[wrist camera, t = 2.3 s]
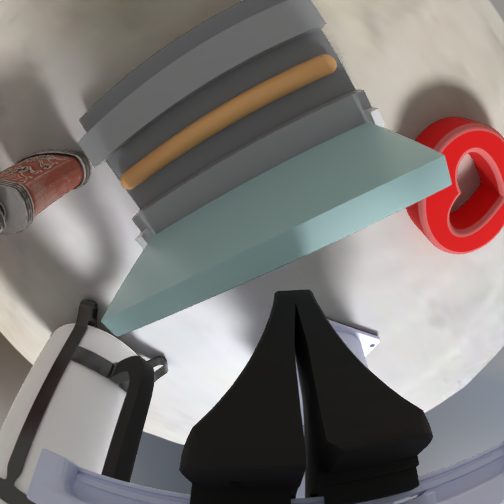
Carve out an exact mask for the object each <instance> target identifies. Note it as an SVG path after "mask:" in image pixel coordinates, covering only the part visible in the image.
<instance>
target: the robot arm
mask: <svg viewBox="0 0 504 504" xmlns="http://www.w3.org/2000/svg"><path fill="white" fill-rule="evenodd" d="M379 342H380V338H379V337H378V336H375V335H372V334H369V333H366V332H363V331H360V330H357V329H354V328H352V327H349V326H346V325H343V324H340V323H337V322H334V321H331V320H329V319H327V318H326V316H325V315H324V313H323V312H322V310H321V308H320V307H319V305H318V303H317V301H316V299H315V297H314V295H313V293H312V292H311V291H310V290H293V291H277V292H276V293H275V295H274V303H273V307H272V311H271V314H270V317H269V320H268V322H267V325H266V328H265V330H264V332H263V335H262V337H261V339H260V341H259V343H258V345H257V347H256V349H255V351H254V353H253V355H252V356H251V358H250V360H249V361H248V363H247V365H246V366H245V368H244V369H243V371H242V372H241V374H240V375H239V377H238V378H237V379H236V381H235V382H234V384H233V385H232V386H231V387H230V389H229V390H228V391H227V392H226V394H225V395H224V396H223V397H222V398H221V399H220V401H219V402H218V403H217V404H216V405H215V406H214V407H213V408H212V409H211V410H210V411H209V412H208V413H207V414H206V415H205V416H204V417H203V418H202V419H201V420H200V421H199V422H198V423H197V424H196V425H195V426H194V427H193V428H192V430H191V432H190V434H189V436H188V438H187V440H186V443H185V445H184V449H183V452H182V456H181V463H180V468H179V470H180V472H181V473H182V474H183V475H184V476H185V477H186V478H187V479H188V480H189V481H190V482H192V490H191V495H189V494H182V493H176V492H170V491H165V490H159V489H154V488H150V487H145V486H141V485H136V484H132V483H129V482H125V481H121V480H118V479H114V478H111V477H108V476H104V475H101V474H98V473H95V472H92V471H89V470H86V469H84V468H81V467H78V465H76V464H75V463H74V462H72V461H70V460H69V459H67V458H65V457H63V456H60V455H58V454H56V453H53V452H51V451H49V450H46V449H42V451H41V454H40V457H39V459H38V462H37V465H36V468H35V471H34V474H33V477H32V480H31V483H30V486H29V490H28V493H27V498H28V499H29V500H31V501H32V502H34V503H36V504H500V503H502V502H503V501H504V441H503V442H501V443H499V444H497V445H495V446H493V447H491V448H489V449H487V450H485V451H483V452H481V453H479V454H476V455H474V456H472V457H470V458H467V459H465V460H463V461H460V462H458V463H455V464H453V465H450V466H448V467H445V468H442V469H440V470H437V471H434V472H431V473H428V474H425V475H422V476H419V477H418V474H417V470H416V466H418V465H419V461H418V456H417V455H418V454H419V453H420V452H421V451H422V450H423V449H424V448H426V447H427V446H428V444H429V443H430V442H431V440H432V438H433V435H432V432H431V428H430V425H429V423H428V420H427V418H426V416H425V414H424V412H423V410H421V409H420V408H418V407H417V406H415V405H413V404H412V403H410V402H409V401H407V400H406V399H404V398H403V397H401V396H400V395H399V394H397V393H396V392H395V391H393V390H392V389H391V388H389V387H388V386H387V385H386V384H385V383H383V382H382V381H381V380H380V379H379V378H378V377H377V376H375V375H374V374H373V373H372V372H371V371H370V370H369V369H368V366H367V362H366V358H365V356H366V355H367V354H369V353H370V352H371V351H372V350H373V349H374V348H375V347H376V346H377V345H378V344H379ZM416 495H418V496H417V497H416V498H413V499H411V497H412V496H416Z"/></svg>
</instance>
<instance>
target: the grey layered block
mask: <svg viewBox="0 0 504 504" xmlns="http://www.w3.org/2000/svg"><path fill="white" fill-rule="evenodd" d="M325 24H326V23H325V21H324V20H323V18H322V17H321V15H320V14H319V12H318V11H317V9H316V8H315V6H314V5H313V3H312V2H311V1H310V0H245V1H243V2H240V3H238V4H236V5H234V6H232V7H231V8H229V9H227V10H225V11H223V12H221V13H219V14H217V15H216V16H214V17H212V18H210V19H208V20H207V21H205V22H203V23H202V24H200V25H198V26H197V27H195V28H193V29H192V30H190V31H188V32H187V33H185V34H184V35H182V36H181V37H179V38H178V39H176V40H175V41H173V42H172V43H170V44H169V45H167V46H166V47H164V48H163V49H161V50H160V51H159V52H157V53H156V54H155V55H153V56H152V57H150V58H149V59H148V60H146V61H145V62H144V63H142V64H141V65H140V66H139V67H137V68H136V69H135V70H134V71H132V72H131V73H130V74H129V75H127V76H126V77H125V78H124V79H123V80H121V81H120V82H119V83H118V84H117V85H116V86H114V87H113V88H112V89H111V90H110V91H109V92H108V93H106V94H105V95H104V96H103V97H102V98H101V99H100V100H99V101H98V102H97V103H96V104H95V105H94V106H93V107H91V108H90V109H89V110H88V111H87V112H86V113H85V114H84V115H83V116H82V117H81V118H80V119H79V121H80V123H81V124H82V126H83V128H84V129H85V131H86V132H87V133H86V134H85V135H84V136H83V137H82V138H81V139H80V140H79V141H78V144H79V145H80V147H81V148H82V150H83V151H84V153H85V154H86V156H87V157H88V159H89V160H90V162H91V163H92V165H93V166H94V168H95V167H97V166H98V165H100V164H102V163H103V162H105V161H106V162H107V163H108V165H109V166H110V168H111V169H112V170H113V172H114V173H115V175H116V176H117V178H118V179H119V180H120V182H121V185H122V186H123V187H124V188H125V189H126V190H127V191H128V193H129V194H130V196H131V197H132V198H133V200H134V201H135V202H136V204H137V205H138V207H139V208H140V210H139V212H138V213H137V214H136V215H135V216H134V217H133V218H132V220H133V221H134V223H135V224H136V225H137V227H138V228H139V229H140V231H141V233H140V234H139V236H138V237H137V238H136V241H137V242H138V243H139V245H140V246H141V247H142V248H143V250H144V249H145V247H146V245H147V244H148V242H149V241H150V239H151V238H152V237H153V236H154V235H156V234H158V233H159V232H161V231H163V230H164V229H166V228H167V227H169V226H171V225H172V224H174V223H176V222H177V221H179V220H181V219H182V218H184V217H186V216H187V215H189V214H191V213H193V212H194V211H196V210H198V209H199V208H201V207H203V206H205V205H206V204H208V203H210V202H212V201H213V200H215V199H217V198H219V197H220V196H222V195H224V194H226V193H227V192H229V191H231V190H233V189H235V188H236V187H238V186H240V185H242V184H244V183H246V182H247V181H249V180H251V179H253V178H255V177H257V176H259V175H260V174H262V173H264V172H266V171H268V170H270V169H272V168H274V167H276V166H278V165H280V164H281V163H283V162H285V161H287V160H289V159H291V158H293V157H295V156H297V155H299V154H301V153H303V152H305V151H307V150H309V149H311V148H313V147H315V146H317V145H319V144H321V143H324V142H326V141H328V140H330V139H332V138H334V137H336V136H338V135H340V134H342V133H345V132H347V131H349V130H351V129H353V128H356V127H358V126H360V125H362V124H364V123H367V122H370V123H373V124H375V125H378V126H381V127H383V128H384V127H386V125H385V122H384V120H383V118H382V115H381V113H380V111H379V109H378V108H373V107H371V104H370V102H369V100H368V98H367V96H366V94H365V92H364V90H355V88H354V86H353V84H352V82H351V80H350V79H349V77H348V75H347V73H346V71H345V69H344V67H343V66H342V64H341V62H340V60H339V58H338V57H337V55H336V53H335V52H334V50H333V48H332V46H331V45H330V43H329V41H328V40H327V38H326V37H325V35H324V33H323V32H322V30H321V28H322V27H323V26H324V25H325Z"/></svg>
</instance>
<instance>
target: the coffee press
mask: <svg viewBox="0 0 504 504" xmlns="http://www.w3.org/2000/svg"><path fill="white" fill-rule="evenodd" d="M97 312H98V306H97V304H96V303H95V302H90V301H85V300H83V301H81V303H80V306H79V311H78V316H77V320H76V323H73V324H66V325H63V326H61V327H59V328H57V329H56V330H55V331H54V333H52V334H51V336H50V338H49V340H48V342H47V343H46V345H45V346H44V348H43V350H42V351H41V353H40V355H39V356H38V358H37V360H36V361H35V363H34V365H33V367H32V368H31V370H30V372H29V374H28V376H27V377H26V379H25V381H24V383H23V385H22V387H21V389H20V391H19V392H18V394H17V396H16V398H15V400H14V402H13V404H12V406H11V409H10V410H9V413H8V415H7V417H6V419H5V421H4V423H3V426H2V428H1V430H0V504H36V503H34V502H32V501H31V500H29V499H28V498H27V493H28V490H29V486H30V483H31V480H32V477H33V474H34V471H35V468H36V465H37V462H38V459H39V457H40V454H41V451H42V449H46V450H49V451H51V452H53V453H56V454H58V455H60V456H63V457H65V458H67V459H69V460H70V461H72V462H74V463H75V464H76V465H78V467H81V468H84V469H86V470H89V471H92V472H95V473H98V474H101V475H104V476H108V477H111V478H114V479H118V480H121V481H125V482H130V478H131V474H132V470H133V466H134V462H135V458H136V454H137V451H138V447H139V442H140V439H141V435H142V431H143V428H144V424H145V420H146V416H147V413H148V409H149V405H150V401H151V397H152V392H153V387H154V382H155V381H156V380H157V379H159V378H160V377H162V376H163V375H165V374H166V373H167V372H168V365H167V360H166V359H165V358H164V357H161V356H158V357H155V358H153V359H151V360H149V361H146V360H144V359H143V358H141V357H140V356H138V355H137V354H136V353H135V352H134V351H133V350H132V349H131V348H130V347H128V346H127V345H126V344H124V343H123V342H122V341H120V340H119V339H117V338H116V337H114V336H113V335H111V334H109V333H107V332H105V331H103V330H101V329H98V328H97ZM157 365H164V366H163V367H161V368H159V369H158V370H156V371H155V372H154V370H153V367H155V366H157Z"/></svg>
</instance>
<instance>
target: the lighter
mask: <svg viewBox="0 0 504 504" xmlns="http://www.w3.org/2000/svg"><path fill="white" fill-rule="evenodd" d="M90 175H91V165H90V161H89V159H88V157H87V156H86V155H85V154H84V153H83V152H81V151H76V150H69V149H48V150H43V151H39V152H35V153H33V154H31V155H29V156H26V157H24V158H22V159H20V160H18V161H17V162H16V163H15V165H13V166H11V167H9V168H7V169H6V170H4V171H2V172H0V235H9V234H13V233H17V232H21V231H22V230H24V229H25V228H26V227H27V226H29V225H30V224H31V223H32V221H33V219H34V217H35V216H36V215H37V214H39V213H40V212H41V211H43V210H44V209H45V208H47V207H48V206H49V205H51V204H52V203H53V202H55V201H56V200H57V199H59V198H60V197H62V196H63V195H64V194H66V193H67V192H69V191H70V190H73V189H77V188H79V187H81V186H82V185H84V184H85V183H87V181H88V180H89V179H90Z"/></svg>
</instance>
